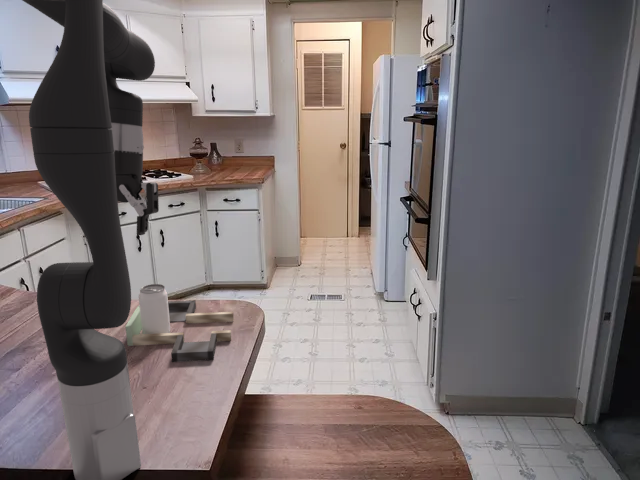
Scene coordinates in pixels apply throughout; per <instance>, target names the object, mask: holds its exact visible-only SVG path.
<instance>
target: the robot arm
mask: <svg viewBox="0 0 640 480" xmlns="http://www.w3.org/2000/svg"><path fill="white" fill-rule="evenodd" d="M21 1H22V2H24V3H26V4H28V5H29V6H30V7H33V8H34V9H36V10H37V11H39V12H40V13H41V14H43V15H45V16H46V17H48V18H49V19H51V20H52V21H54V22H55V23H57V24H59V26H61V27H63V34H62V39H61V43H60V45H59V48H58V50H57V53H56V55H55V57H54V58H53V60H52V63H51V65H50V66H49V68H48V70H47V71H46V73H45V75H44V77H43V79H42V80H41V83H39V86H38V88H37V89H36V92H35V94H34V96H33V99H32V101H31V103H30V107H29V111H28V120H29V121H28V122H29V127H30V138H31V146H32V152H33V158H34V163H35V167H36V169H37V170H38V171H37V172H38V173H39V175H40V177H41V178H42V180H43V181H44V183H45V184H46V185H47V186H48V188H49V189H50V191H51V192H52V193H53V194H54V196H55V197H56V198H57V199H58V200H59V201H60V203H61V204H62V205H63V206H64V207H65V208H66V210H67V211H68V212H69V214H70V215H71V216H72V217H73V218H74V220H75V221H76V223H77V224H78V226H79V227H80V230H82V232H83V235H84V237H85V239H86V241H87V245H88V247H89V251H90V256H91V259H92V261H91V262H90V261H88V262H87V261H83V262H82V261H81V262H80V261H79V262H74V261H73V262H58V263H52V264H50V265H48V266H47V267H46V268H45V269H44V270H43V271H42V273H41V275H40V276H39V280H38V283H37V288H36V302H37V311H38V316H39V321H40V325H41V329H42V332H43V336H44V337H43V338H44V340H45V344H46V348H47V353H48V357H49V361H50V363H51V365H52V367H53V368H54V370H55V375H56V378H57V383H58V390H59V397H60V401H61V408H62V413H63V418H64V419H63V420H64V424H65V430H66V436H67V441H68V448H69V454H70V458H71V465H72V470H73V475H74V476H73V477H74V479H75V480H123V479H124V478H126V477H127V476H129V475H130V474H131V473H134V472H135V471H137V470H138V469H139V468H141V467H142V462H141V455H140V454H141V453H140V447H139V446H140V445H139V439H138V430H137V429H138V428H137V420H136V415H135V413H134V406H133V405H134V404H133V398H132V397H133V396H132V390H131V381H130V372H129V365H128V364H129V363H128V355H127V349H126V346H125V344H124V343H123V342H122V341H121V340H120V339H118V338H116V337H114V336H111V335H108V334H105V333H102V332H100V331H98V330H105V329H106V330H107V329H115V328H119V327H121V326H123V325H124V324H125V323H126V322H127V320H128V318H129V315H130V311H131V308H132V289H131V288H132V284H131V279H130V272H129V266H128V260H127V256H126V255H127V254H126V249H125V243H124V238H123V237H124V236H123V232H122V225H121V220H120V213H119V202H121V203H129V205H130V206H131V207H132V208H134V210H135V211H136V213H137V215H138V216H136V235H137V236H144V235H145V234H146V233H147V232H148V230H149V216H150V215H152V214H157V213H159V209H160V207H159V184H158V183H157V182H152V181H151V182H143V178H142V177H143V169H144V168H143V167H144V148H145V147H144V131H143V123H144V122H143V118H144V117H143V116H144V115H143V114H144V113H143V111H144V103H143V99H142V97H141V96H140V95H138V94H136V93H133V92H130V91H126V90H122V89H121V88H120V87H119V85H118V82H117V79H118V80H119V79H120V80H128V81H129V80H130V81H138V82H139V81H141V82H142V81H145V80H148V79H149V78H150V77H151V76H152V75H153V74H154V71H155V66H156V62H155V61H156V60H155V55H154V53H153V51H152V49H151V47H150V45H149V44H148V43H147V41H145V40H144V38H142V37H140V36H139V35H137V33H135V32H133V31H132V30H130V29H128V28H127V27H126V26H125V25H124V24H123V22H122V20H121V19H120V17H119V16H118V15H117V13H116V12H115V11H114V10H113V9H112V8H111V7H110V6H109V5H108V4H106V3H105V2H104V0H21ZM142 191H143V192H144V193H145V194H146V202H145V200H144V198H143V195H141V192H142Z"/></svg>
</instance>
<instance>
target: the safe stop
mask: <svg viewBox="0 0 640 480" xmlns="http://www.w3.org/2000/svg"><path fill="white" fill-rule="evenodd" d="M141 331H142V325H141V316H140V306H139V305H137V306H136V309H135V310H134V312H133V313H132V315H131V316H130V318H129V319H128V322H127V323H126V324H125V333H126V343H127V344H129V345H127V346H128V347H133V341H132V336H133V335H137V334H141V333H142V332H141ZM127 337H128V338H127ZM130 337H131V341H130V342H131V343H129V340H128V341H127V339H130ZM130 344H131V345H130Z"/></svg>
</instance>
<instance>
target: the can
mask: <svg viewBox="0 0 640 480" xmlns="http://www.w3.org/2000/svg"><path fill="white" fill-rule="evenodd" d="M138 304H139V305H138V306H140V316H141V325H142V330H141V331H142V332H141V334H159V333H171V322H170V319H169V308H168V293H167V290H166V289H165V285H163V284H160V283H152V284H151V283H150V284H146V285H143V286H141V287H140V289H139V294H138Z"/></svg>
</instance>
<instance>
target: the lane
mask: <svg viewBox="0 0 640 480" xmlns="http://www.w3.org/2000/svg"><path fill="white" fill-rule="evenodd" d="M168 308H169V319H170V323H179V322H185V323H186V324H205V323H207V324H208V323H209V324H210V323H225V322H227V323H228V322H229V323H230V322H234V320H235V319H234V318H235V317H234V316H235V315H234V311H222V312H221V311H220V312H219V311H218V312H195V311H196V310H197V309H196V308H197V303H196V300H173V301H172V300H171V301H170V300H169V301H168ZM127 338H128V337H127V336H126V342H127V341H128V340H129V343H131V342H130V341H131V337H130V339H127ZM132 341H133V346H150V345H151V346H152V345H153V346H155V345H173V344H174V345H173V347H172V350H171V354H170V355H171V362H172V363H182V362H184V363H185V362H198V361H201V362H203V361H214V359H215V354H216V349H217V342H231V341H232V330H231V329H230V330H229V329H228V330H212V331H211V333H210V339H209V340H207V341H206V340H205V341H204V340H203V341H186V342H185V332H170V333H159V334H143V333H139V334H137V335H133V336H132ZM128 345H129V344H127V346H128ZM130 345H131V344H130ZM133 346H132V347H133Z"/></svg>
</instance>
